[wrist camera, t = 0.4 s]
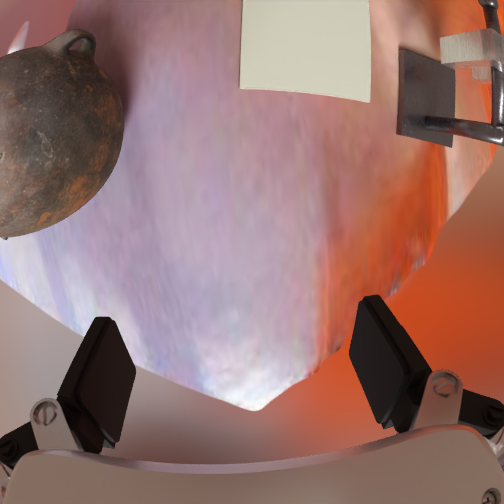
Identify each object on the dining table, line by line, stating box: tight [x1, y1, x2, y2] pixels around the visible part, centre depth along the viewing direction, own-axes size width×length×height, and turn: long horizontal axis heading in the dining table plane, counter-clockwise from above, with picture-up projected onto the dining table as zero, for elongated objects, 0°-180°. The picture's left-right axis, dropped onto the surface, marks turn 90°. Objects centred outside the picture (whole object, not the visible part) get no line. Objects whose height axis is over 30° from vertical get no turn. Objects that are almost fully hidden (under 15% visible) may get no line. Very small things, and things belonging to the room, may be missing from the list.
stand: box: [397, 0, 504, 148], centre depth 24 cm, size 24×11×18 cm, turn 178°
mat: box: [240, 0, 371, 102], centre depth 29 cm, size 18×18×1 cm
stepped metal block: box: [440, 28, 504, 84], centre depth 17 cm, size 4×8×14 cm, turn 88°
